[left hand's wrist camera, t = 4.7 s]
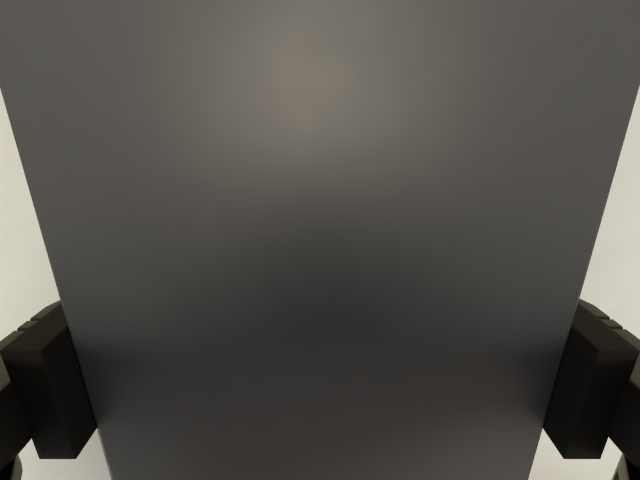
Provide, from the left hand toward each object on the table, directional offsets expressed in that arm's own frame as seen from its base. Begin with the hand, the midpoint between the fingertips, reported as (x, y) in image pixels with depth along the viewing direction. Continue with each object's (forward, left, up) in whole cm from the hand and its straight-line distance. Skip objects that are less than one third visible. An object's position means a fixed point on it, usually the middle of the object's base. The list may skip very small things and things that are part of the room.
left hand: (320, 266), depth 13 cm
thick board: (+29, +13, -1) cm, 31 cm away
